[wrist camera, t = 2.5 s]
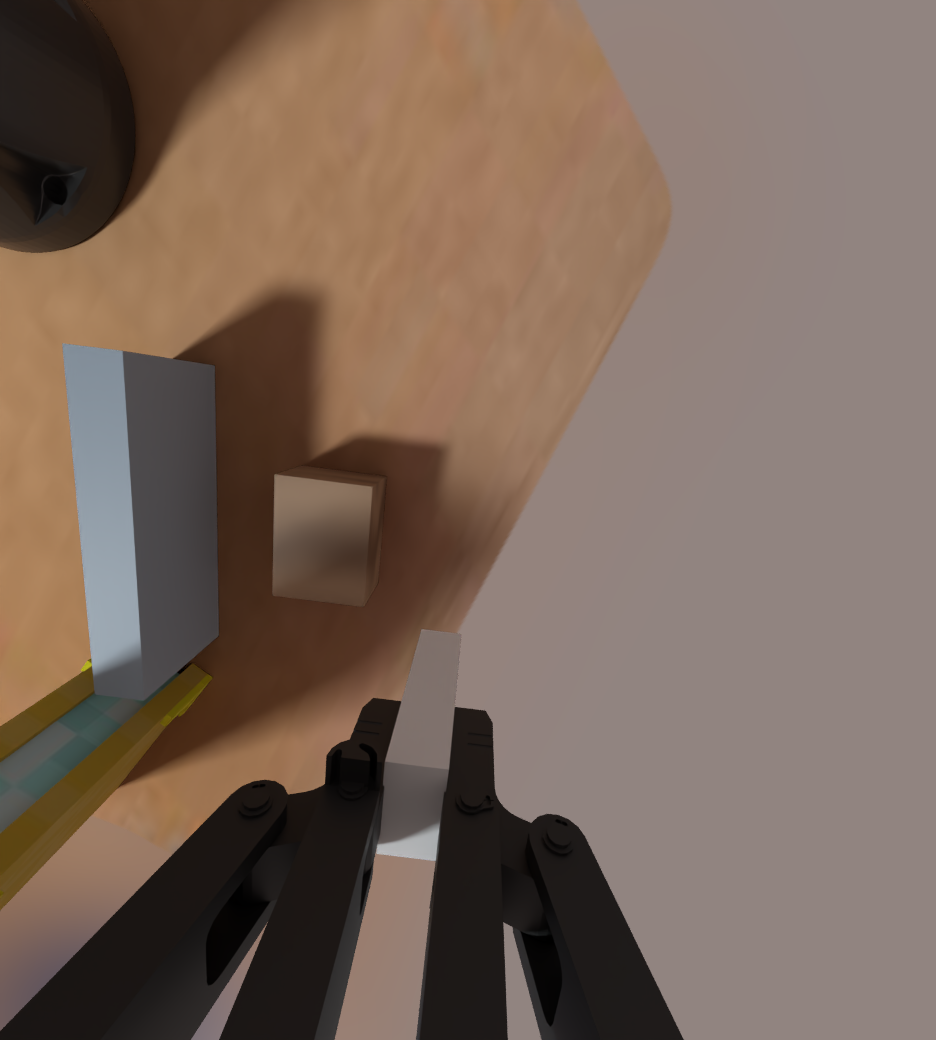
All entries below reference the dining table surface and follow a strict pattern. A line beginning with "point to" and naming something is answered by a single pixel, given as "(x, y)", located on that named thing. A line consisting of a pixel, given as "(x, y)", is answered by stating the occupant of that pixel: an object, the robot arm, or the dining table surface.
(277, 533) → the brown rectangular block
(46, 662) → the dining table surface
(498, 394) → the dining table surface
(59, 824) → the yellow rounded trough
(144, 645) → the slate board
